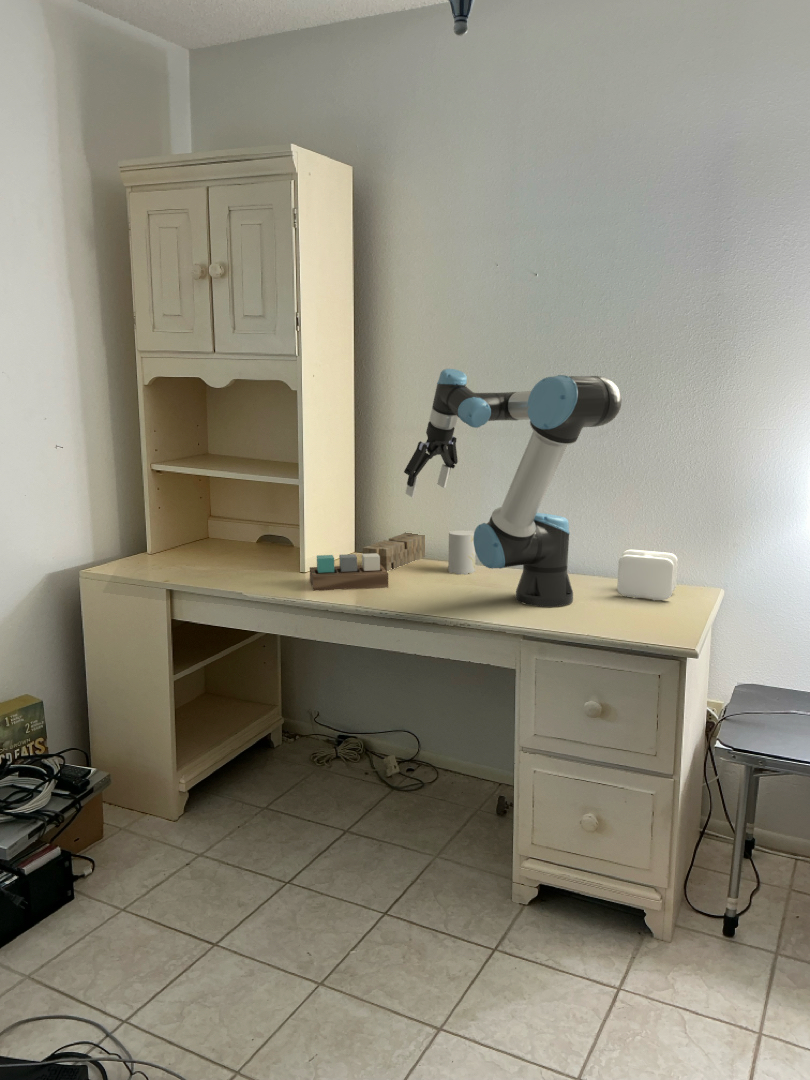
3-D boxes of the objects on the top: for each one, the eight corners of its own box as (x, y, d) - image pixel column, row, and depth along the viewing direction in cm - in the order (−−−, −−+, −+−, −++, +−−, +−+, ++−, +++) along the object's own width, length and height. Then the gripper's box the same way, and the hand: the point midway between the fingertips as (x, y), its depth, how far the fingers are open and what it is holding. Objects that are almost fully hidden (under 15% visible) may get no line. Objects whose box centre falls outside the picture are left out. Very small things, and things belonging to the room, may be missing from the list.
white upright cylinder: (475, 574, 263) (476, 535, 260) (448, 574, 263) (449, 535, 261) (474, 568, 271) (475, 530, 268) (447, 568, 271) (448, 530, 269)
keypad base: (388, 587, 246) (388, 573, 246) (313, 590, 243) (313, 576, 242) (381, 577, 258) (381, 564, 257) (309, 580, 254) (309, 567, 253)
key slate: (357, 571, 248) (357, 557, 247) (341, 571, 247) (341, 557, 246) (355, 567, 252) (355, 554, 251) (339, 568, 251) (339, 554, 251)
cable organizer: (613, 596, 237) (615, 554, 235) (621, 588, 247) (623, 547, 245) (670, 602, 231) (673, 559, 229) (676, 594, 241) (679, 552, 238)
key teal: (334, 572, 247) (334, 558, 246) (318, 572, 246) (318, 558, 245) (332, 568, 251) (332, 554, 250) (316, 569, 250) (316, 555, 249)
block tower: (384, 577, 264) (429, 556, 289) (384, 549, 262) (428, 531, 287) (362, 574, 268) (408, 554, 293) (361, 547, 266) (407, 529, 291)
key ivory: (379, 570, 249) (379, 556, 248) (364, 570, 248) (364, 557, 247) (377, 566, 253) (377, 553, 253) (361, 567, 252) (361, 553, 252)
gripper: (461, 412, 254) (444, 476, 265) (401, 425, 238) (386, 493, 248) (480, 422, 250) (462, 487, 261) (420, 436, 233) (404, 505, 244)
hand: (425, 490), depth 255 cm, fingers open, 13 cm apart
